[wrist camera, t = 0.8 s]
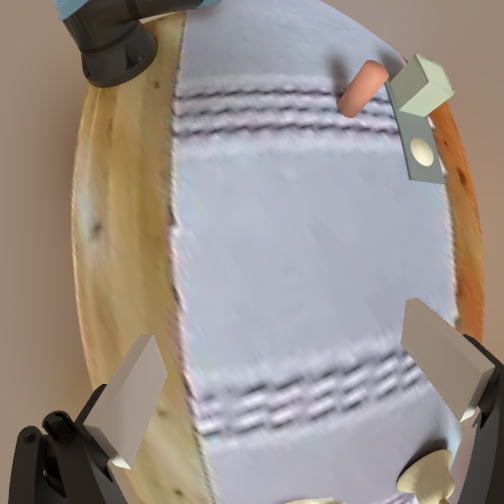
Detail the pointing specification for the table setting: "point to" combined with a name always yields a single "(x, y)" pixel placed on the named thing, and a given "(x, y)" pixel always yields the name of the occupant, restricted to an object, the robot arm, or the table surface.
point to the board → (416, 143)
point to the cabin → (317, 501)
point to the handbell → (429, 478)
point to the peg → (362, 88)
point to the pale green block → (421, 86)
